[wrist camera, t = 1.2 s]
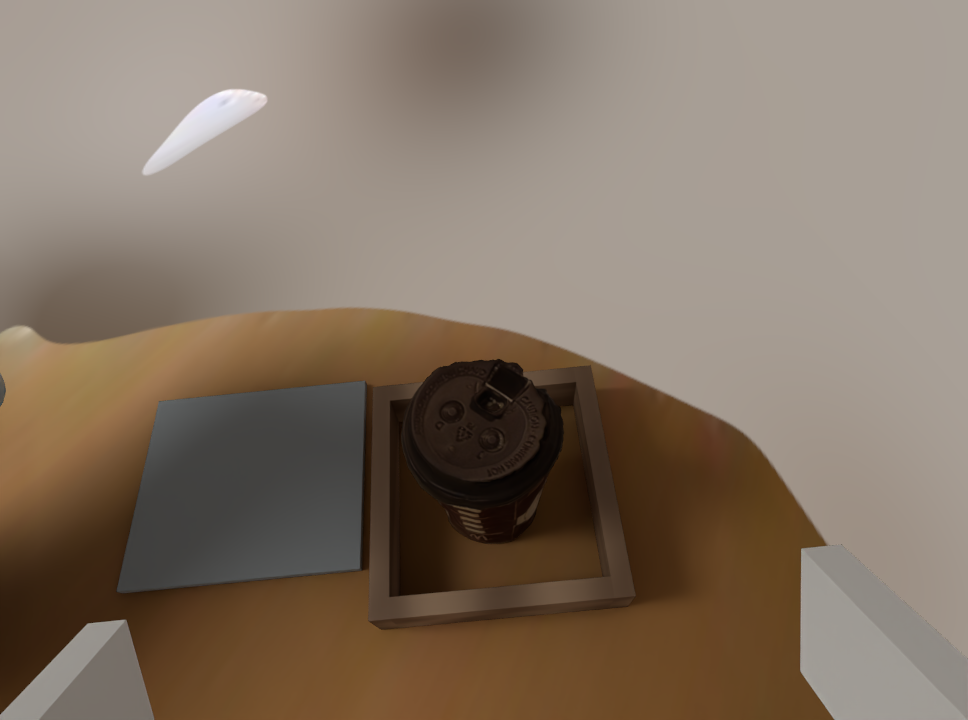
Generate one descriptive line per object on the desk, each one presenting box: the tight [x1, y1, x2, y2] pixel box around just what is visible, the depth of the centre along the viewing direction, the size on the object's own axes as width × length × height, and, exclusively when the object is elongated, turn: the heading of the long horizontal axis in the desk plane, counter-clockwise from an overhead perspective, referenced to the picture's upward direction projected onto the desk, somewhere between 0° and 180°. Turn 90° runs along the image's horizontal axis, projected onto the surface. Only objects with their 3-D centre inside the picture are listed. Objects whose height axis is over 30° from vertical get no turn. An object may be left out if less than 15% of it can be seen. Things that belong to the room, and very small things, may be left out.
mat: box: [116, 381, 367, 593], centre depth 44 cm, size 16×14×1 cm
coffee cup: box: [401, 359, 564, 544], centre depth 37 cm, size 9×8×13 cm
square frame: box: [368, 365, 636, 630], centre depth 41 cm, size 15×15×4 cm
